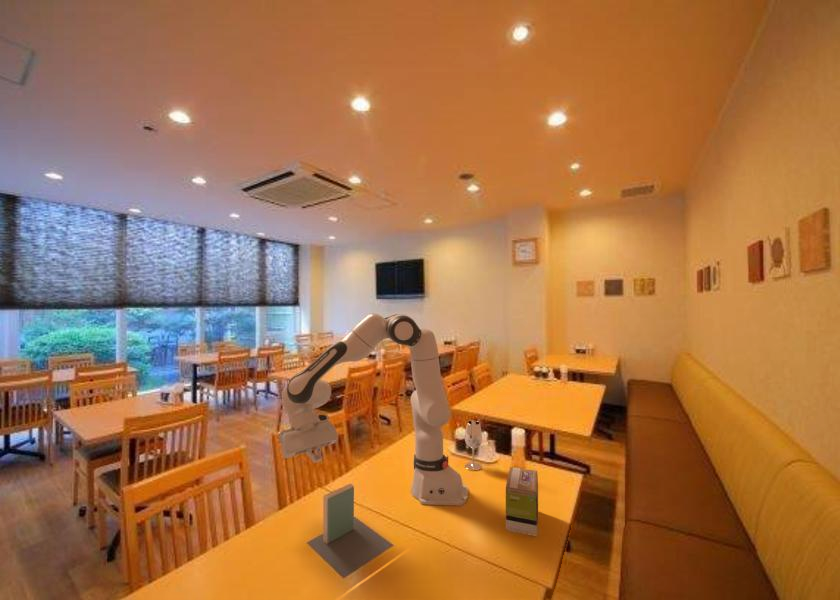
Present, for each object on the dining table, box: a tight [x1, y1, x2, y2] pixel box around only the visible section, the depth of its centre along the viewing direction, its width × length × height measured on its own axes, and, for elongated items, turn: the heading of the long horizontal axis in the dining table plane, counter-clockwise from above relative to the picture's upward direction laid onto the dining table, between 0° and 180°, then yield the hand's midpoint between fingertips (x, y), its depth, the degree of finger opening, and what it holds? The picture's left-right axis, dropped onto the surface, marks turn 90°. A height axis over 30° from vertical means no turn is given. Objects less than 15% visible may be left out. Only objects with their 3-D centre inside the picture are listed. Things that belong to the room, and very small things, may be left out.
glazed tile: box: [322, 483, 355, 544], centre depth 112 cm, size 2×10×14 cm, turn 136°
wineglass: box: [464, 420, 483, 471], centre depth 160 cm, size 8×8×20 cm
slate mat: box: [306, 516, 394, 579], centre depth 108 cm, size 20×18×1 cm
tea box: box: [505, 466, 539, 537], centre depth 121 cm, size 15×10×15 cm
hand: (317, 460), depth 121 cm, fingers closed
